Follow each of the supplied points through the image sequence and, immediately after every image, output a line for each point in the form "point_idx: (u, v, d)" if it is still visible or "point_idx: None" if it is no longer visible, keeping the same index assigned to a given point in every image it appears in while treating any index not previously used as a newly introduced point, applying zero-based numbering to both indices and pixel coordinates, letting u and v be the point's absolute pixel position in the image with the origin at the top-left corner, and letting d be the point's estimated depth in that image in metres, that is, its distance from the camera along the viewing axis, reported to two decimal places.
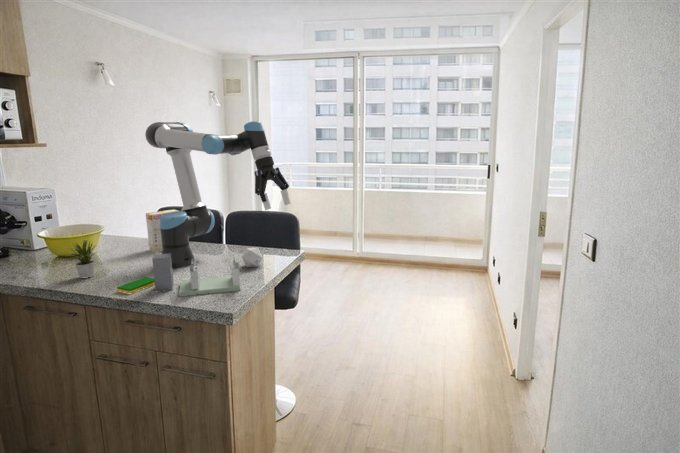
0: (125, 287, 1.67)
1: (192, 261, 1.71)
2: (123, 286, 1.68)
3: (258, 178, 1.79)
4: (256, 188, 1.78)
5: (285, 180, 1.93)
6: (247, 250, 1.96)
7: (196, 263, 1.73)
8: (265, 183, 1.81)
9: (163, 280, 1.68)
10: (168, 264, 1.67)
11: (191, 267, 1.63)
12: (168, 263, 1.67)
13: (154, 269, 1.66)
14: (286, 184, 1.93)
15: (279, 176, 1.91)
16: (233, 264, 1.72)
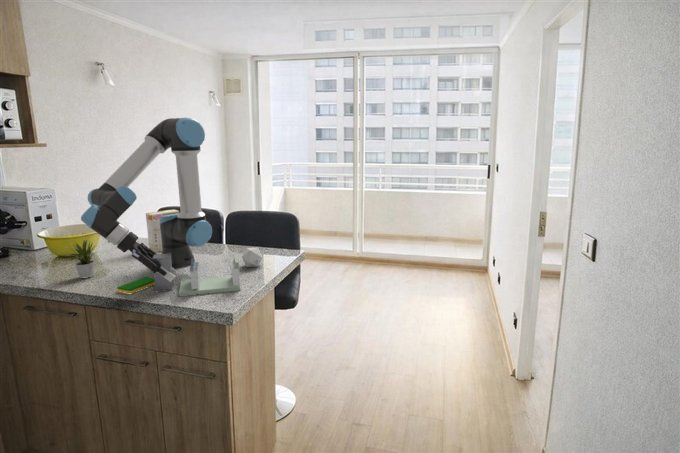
0: (125, 287, 1.67)
1: (192, 261, 1.71)
2: (123, 286, 1.68)
3: None
4: None
5: (147, 267, 1.62)
6: (247, 250, 1.96)
7: (196, 263, 1.73)
8: None
9: (163, 280, 1.68)
10: (168, 264, 1.67)
11: (191, 267, 1.63)
12: (168, 263, 1.67)
13: None
14: None
15: None
16: (233, 264, 1.72)
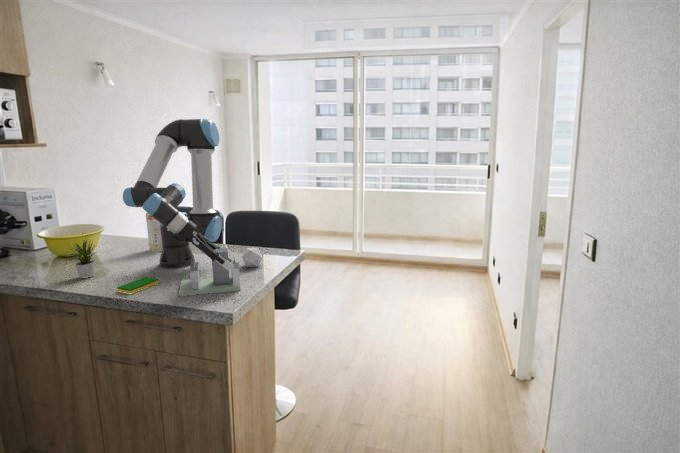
0: (125, 287, 1.67)
1: (192, 261, 1.71)
2: (123, 286, 1.68)
3: None
4: None
5: None
6: (247, 250, 1.96)
7: (196, 263, 1.73)
8: None
9: (222, 274, 1.69)
10: (226, 258, 1.68)
11: (191, 267, 1.63)
12: (226, 257, 1.68)
13: (213, 263, 1.67)
14: None
15: None
16: (233, 264, 1.72)
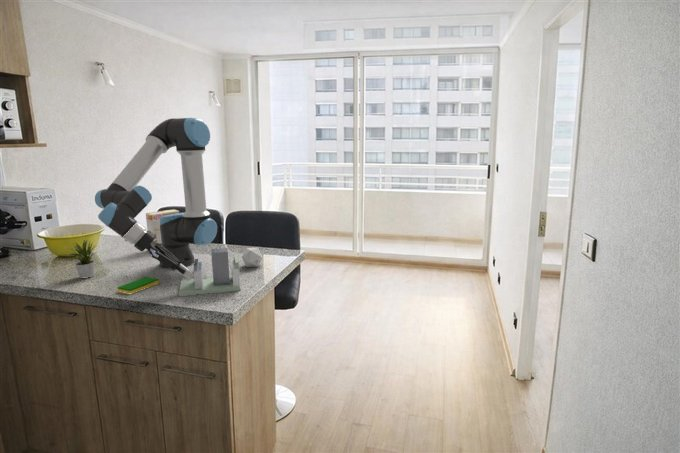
0: (125, 287, 1.67)
1: (195, 261, 1.71)
2: (123, 286, 1.68)
3: None
4: None
5: (166, 265, 1.61)
6: (247, 250, 1.96)
7: (199, 263, 1.73)
8: None
9: (222, 274, 1.69)
10: (226, 258, 1.68)
11: (195, 267, 1.64)
12: (226, 257, 1.68)
13: (213, 263, 1.67)
14: None
15: None
16: (233, 264, 1.72)
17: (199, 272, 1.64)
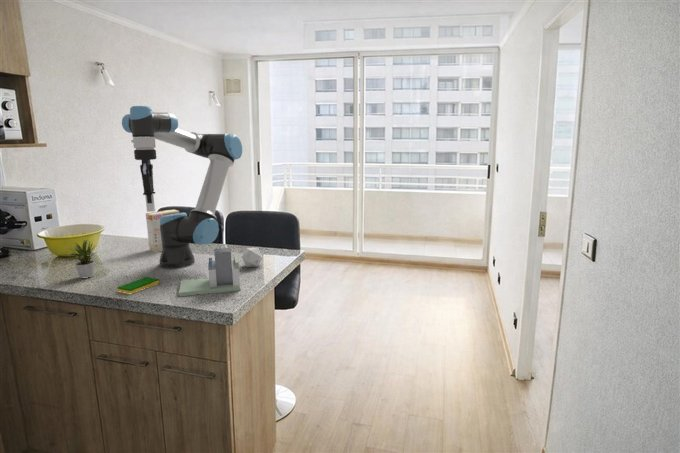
0: (126, 287, 1.67)
1: (209, 260, 1.73)
2: (123, 286, 1.68)
3: None
4: None
5: (143, 186, 1.64)
6: (247, 250, 1.96)
7: (213, 262, 1.74)
8: None
9: (225, 274, 1.69)
10: (229, 258, 1.68)
11: (209, 265, 1.65)
12: (230, 257, 1.68)
13: (216, 263, 1.67)
14: (144, 189, 1.65)
15: None
16: (233, 264, 1.72)
17: (214, 271, 1.65)
